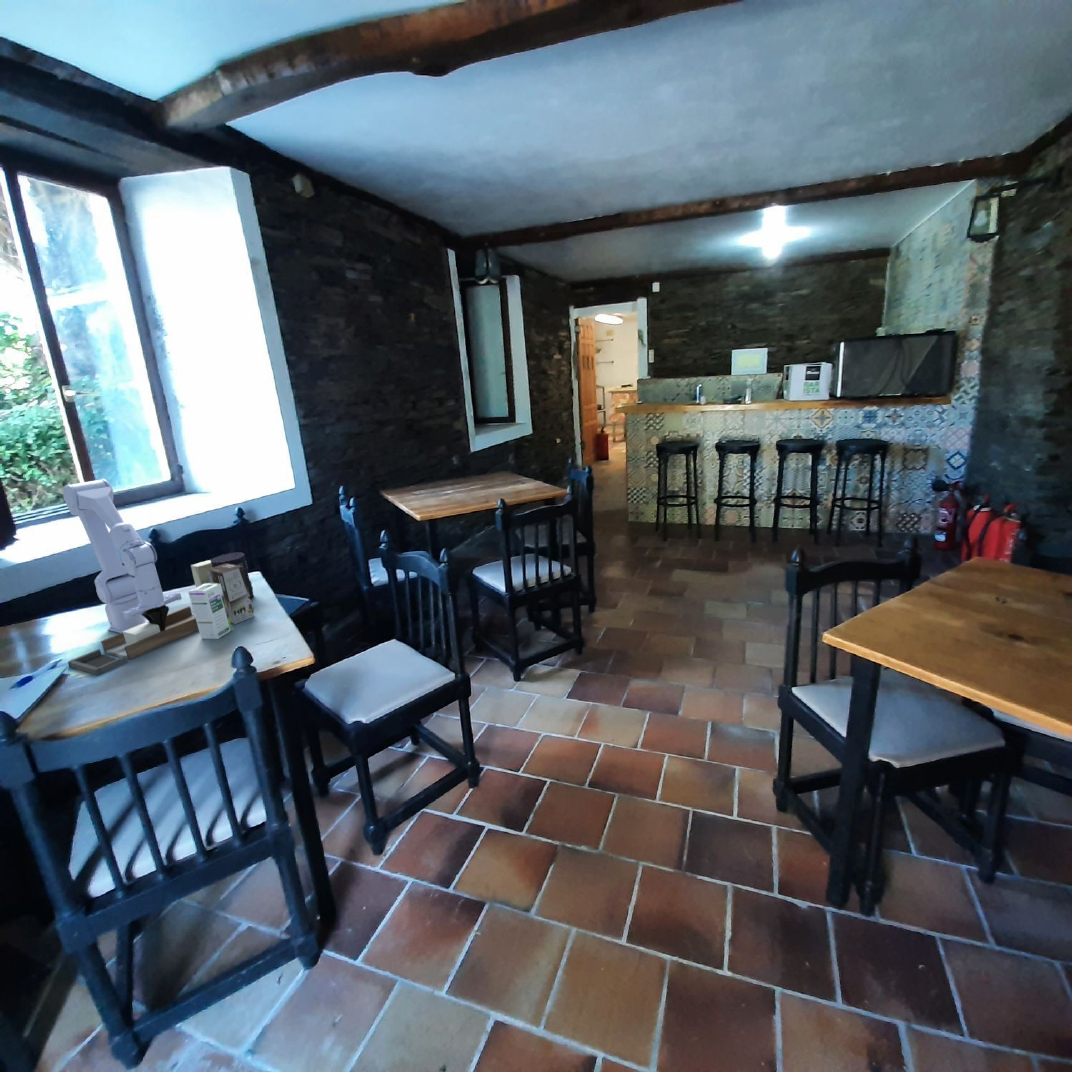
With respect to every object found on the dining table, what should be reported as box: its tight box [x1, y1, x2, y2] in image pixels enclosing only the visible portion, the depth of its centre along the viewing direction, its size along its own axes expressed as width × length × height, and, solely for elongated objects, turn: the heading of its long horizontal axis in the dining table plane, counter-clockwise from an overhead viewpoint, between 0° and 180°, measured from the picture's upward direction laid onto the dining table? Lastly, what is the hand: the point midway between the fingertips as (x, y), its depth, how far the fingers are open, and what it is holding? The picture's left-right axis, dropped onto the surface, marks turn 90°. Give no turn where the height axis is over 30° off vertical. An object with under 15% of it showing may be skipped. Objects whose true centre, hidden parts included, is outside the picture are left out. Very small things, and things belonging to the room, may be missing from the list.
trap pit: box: [67, 648, 128, 676], centre depth 142 cm, size 13×7×2 cm, turn 64°
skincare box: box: [190, 559, 212, 588], centre depth 182 cm, size 6×4×12 cm
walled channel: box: [100, 605, 199, 661], centre depth 156 cm, size 12×24×4 cm, turn 154°
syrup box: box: [187, 583, 234, 640], centre depth 153 cm, size 6×6×14 cm
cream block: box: [123, 622, 160, 645], centre depth 151 cm, size 6×6×4 cm
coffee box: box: [207, 563, 255, 625], centre depth 163 cm, size 9×6×16 cm
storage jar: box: [210, 551, 255, 601], centre depth 178 cm, size 10×10×15 cm
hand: (161, 632), depth 155 cm, fingers closed
